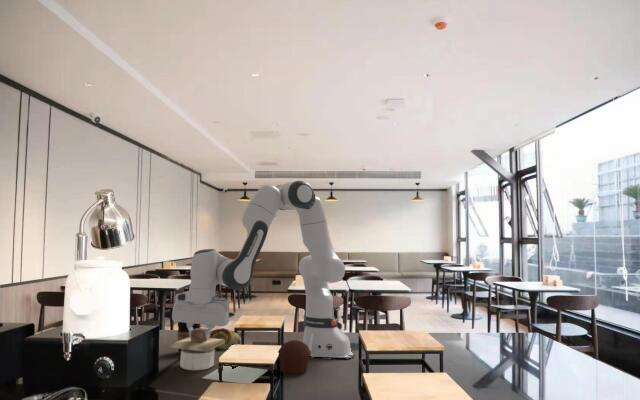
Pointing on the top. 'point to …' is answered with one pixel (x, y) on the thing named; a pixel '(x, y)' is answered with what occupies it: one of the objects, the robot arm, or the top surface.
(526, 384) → the top surface
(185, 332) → the coffee cup
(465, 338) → the top surface
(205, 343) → the lid
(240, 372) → the mat
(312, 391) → the top surface
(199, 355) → the bowl
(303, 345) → the muffin
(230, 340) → the pastry
